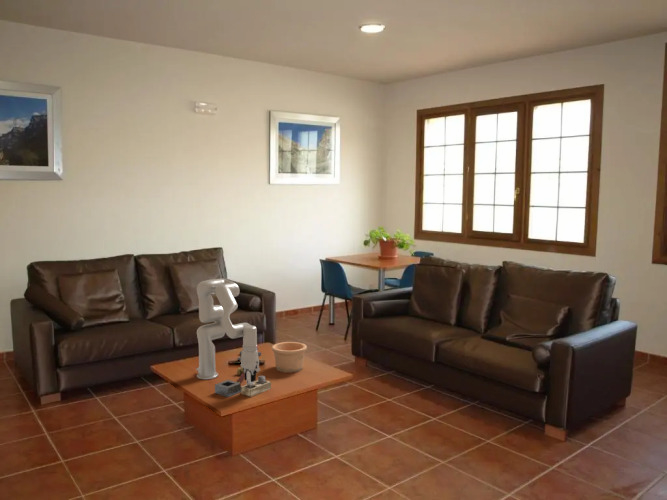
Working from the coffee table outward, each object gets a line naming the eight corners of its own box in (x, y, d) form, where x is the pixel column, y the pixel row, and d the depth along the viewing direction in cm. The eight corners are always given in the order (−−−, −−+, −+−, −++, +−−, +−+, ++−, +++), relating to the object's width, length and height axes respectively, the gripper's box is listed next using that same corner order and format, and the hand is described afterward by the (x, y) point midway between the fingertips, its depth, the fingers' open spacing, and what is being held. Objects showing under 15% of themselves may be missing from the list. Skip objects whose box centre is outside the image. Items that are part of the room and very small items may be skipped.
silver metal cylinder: (245, 391, 318) (244, 370, 316) (250, 389, 321) (250, 368, 319) (250, 393, 315) (250, 372, 314) (255, 391, 318) (255, 370, 317)
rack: (240, 393, 318) (240, 381, 317) (260, 385, 330) (260, 374, 330) (251, 396, 313) (251, 384, 312) (271, 388, 326) (271, 376, 325)
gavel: (246, 380, 330) (229, 380, 331) (246, 388, 331) (229, 387, 332) (254, 367, 351) (238, 366, 352) (255, 374, 352) (239, 373, 353)
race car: (230, 355, 370) (242, 344, 395) (230, 364, 371) (242, 353, 396) (252, 356, 368) (262, 345, 393) (252, 365, 369) (262, 354, 394)
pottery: (265, 368, 363) (264, 345, 361) (292, 361, 377) (292, 339, 376) (285, 376, 347) (285, 353, 345) (313, 369, 361) (313, 346, 360)
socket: (215, 393, 318) (214, 384, 318) (228, 388, 326) (228, 379, 326) (227, 397, 312) (227, 388, 312) (240, 392, 320) (240, 383, 320)
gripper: (234, 347, 317) (234, 379, 319) (256, 352, 307) (256, 385, 309) (243, 344, 323) (244, 375, 325) (265, 349, 313) (266, 381, 316)
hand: (250, 380), depth 317 cm, fingers closed on silver metal cylinder, 3 cm apart
